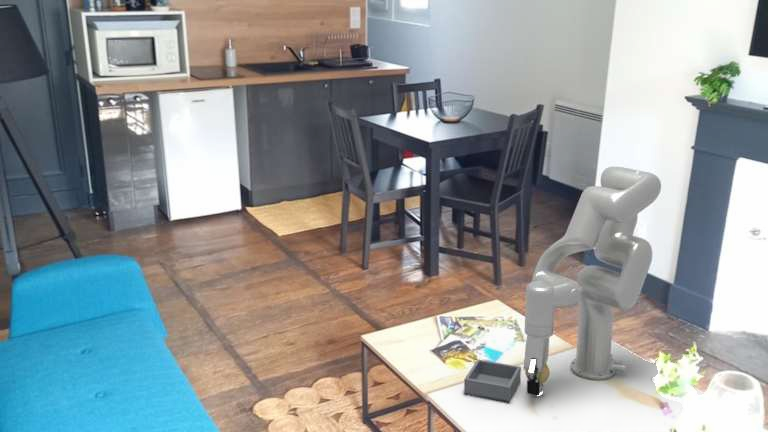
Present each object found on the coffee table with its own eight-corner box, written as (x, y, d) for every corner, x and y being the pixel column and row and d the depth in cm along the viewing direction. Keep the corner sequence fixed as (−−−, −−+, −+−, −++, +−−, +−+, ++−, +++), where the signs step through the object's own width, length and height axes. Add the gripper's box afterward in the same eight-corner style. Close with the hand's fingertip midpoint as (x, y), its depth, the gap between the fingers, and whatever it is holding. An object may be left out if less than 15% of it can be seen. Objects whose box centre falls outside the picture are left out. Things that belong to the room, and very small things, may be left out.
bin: (520, 382, 205) (520, 366, 204) (509, 403, 194) (509, 387, 193) (477, 374, 210) (477, 359, 209) (464, 394, 199) (464, 379, 198)
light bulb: (548, 401, 194) (550, 368, 192) (524, 399, 196) (525, 366, 193) (548, 389, 200) (549, 357, 198) (524, 388, 202) (525, 355, 199)
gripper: (532, 313, 202) (530, 370, 206) (517, 338, 186) (515, 399, 191) (559, 317, 199) (556, 374, 203) (546, 343, 183) (543, 404, 188)
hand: (536, 386), depth 197 cm, fingers open, 8 cm apart
